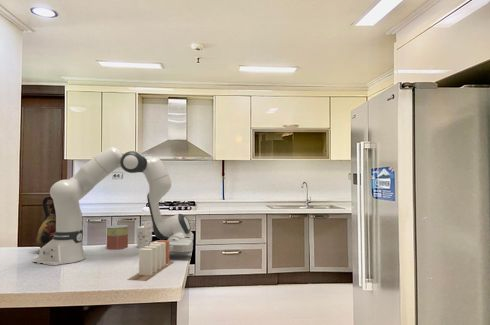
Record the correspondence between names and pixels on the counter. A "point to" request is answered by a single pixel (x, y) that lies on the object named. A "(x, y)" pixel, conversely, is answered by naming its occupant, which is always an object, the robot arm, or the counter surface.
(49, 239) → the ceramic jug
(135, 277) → the walnut board
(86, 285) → the counter surface
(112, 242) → the canned food
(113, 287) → the counter surface
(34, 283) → the counter surface
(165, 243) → the ivory tile
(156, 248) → the ivory tile
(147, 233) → the ink cartridge box
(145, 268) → the ivory tile
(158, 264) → the ivory tile
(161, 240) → the rust tile
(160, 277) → the counter surface
